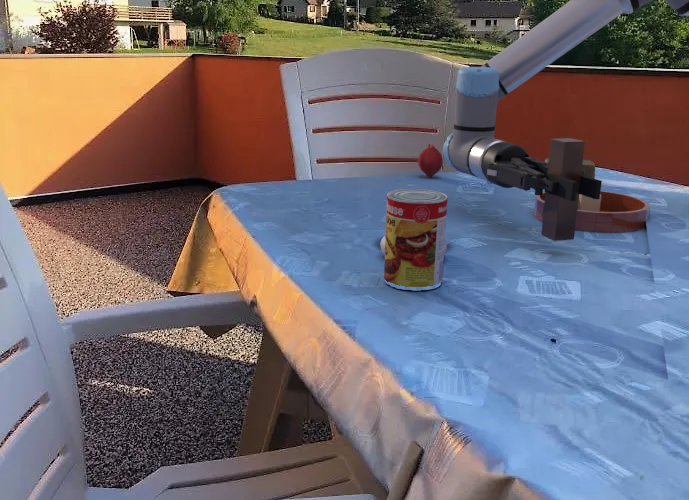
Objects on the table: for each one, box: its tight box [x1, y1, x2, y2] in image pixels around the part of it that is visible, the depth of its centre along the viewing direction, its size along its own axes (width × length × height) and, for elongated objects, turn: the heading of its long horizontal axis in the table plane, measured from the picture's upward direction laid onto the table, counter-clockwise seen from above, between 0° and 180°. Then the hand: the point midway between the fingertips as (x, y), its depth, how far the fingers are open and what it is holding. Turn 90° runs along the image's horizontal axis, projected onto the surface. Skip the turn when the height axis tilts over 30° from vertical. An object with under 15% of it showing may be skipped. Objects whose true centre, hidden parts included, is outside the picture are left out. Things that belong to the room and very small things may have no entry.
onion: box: [417, 142, 444, 178], centre depth 167 cm, size 6×6×8 cm
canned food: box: [383, 188, 448, 287], centre depth 94 cm, size 8×8×12 cm
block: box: [578, 194, 601, 212], centre depth 134 cm, size 4×4×4 cm
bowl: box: [533, 190, 651, 234], centre depth 129 cm, size 20×20×4 cm
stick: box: [540, 137, 586, 242], centre depth 107 cm, size 4×4×15 cm
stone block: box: [544, 157, 596, 179], centre depth 165 cm, size 6×12×5 cm, turn 80°
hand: (586, 190), depth 102 cm, fingers closed on stick, 3 cm apart
